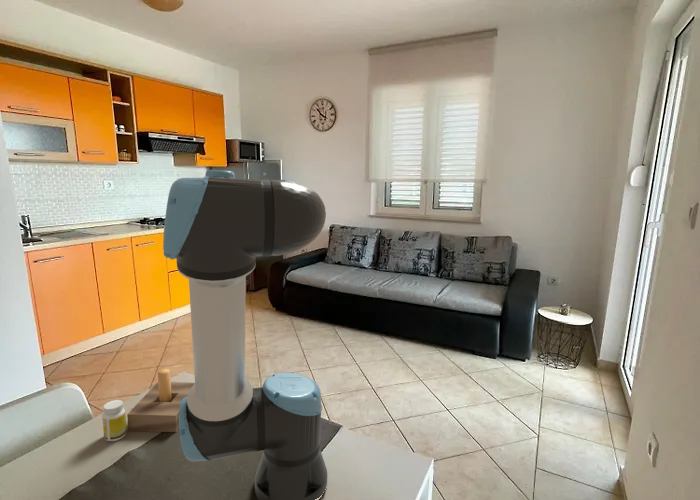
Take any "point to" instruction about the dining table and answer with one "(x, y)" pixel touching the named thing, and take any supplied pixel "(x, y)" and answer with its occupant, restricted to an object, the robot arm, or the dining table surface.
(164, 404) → the walnut block
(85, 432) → the dining table surface
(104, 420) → the supplement bottle
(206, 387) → the robot arm
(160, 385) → the dowel
